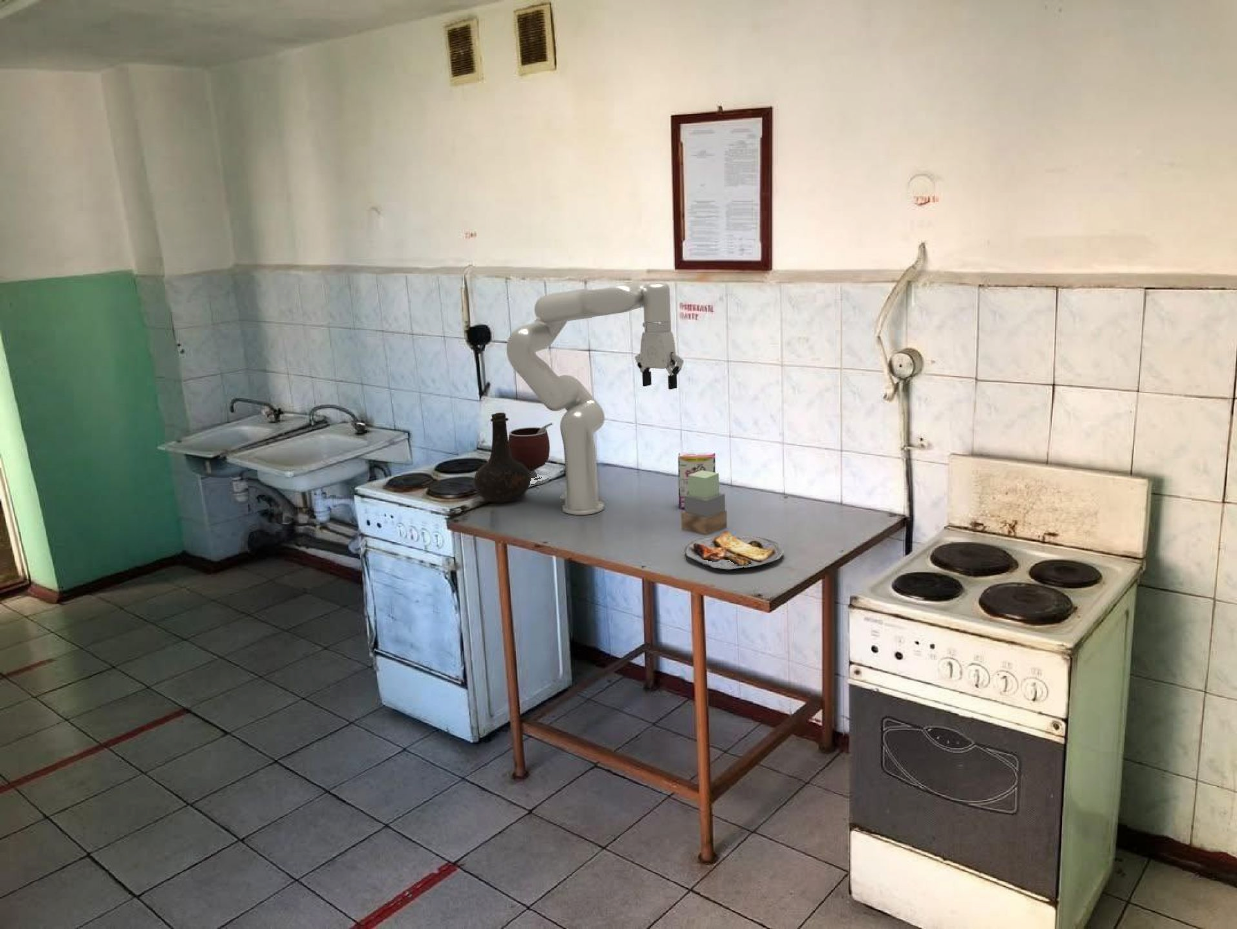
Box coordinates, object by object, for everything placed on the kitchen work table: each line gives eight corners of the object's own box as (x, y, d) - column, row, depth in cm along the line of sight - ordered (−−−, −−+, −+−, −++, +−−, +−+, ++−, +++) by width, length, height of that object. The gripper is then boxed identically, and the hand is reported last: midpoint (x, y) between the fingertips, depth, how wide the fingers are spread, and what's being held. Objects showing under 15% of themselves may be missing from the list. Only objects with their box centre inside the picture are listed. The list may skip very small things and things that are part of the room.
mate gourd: (506, 485, 335) (501, 427, 330) (517, 474, 349) (512, 418, 344) (551, 486, 333) (547, 427, 328) (560, 474, 346) (556, 418, 341)
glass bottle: (469, 507, 313) (462, 420, 306) (483, 491, 330) (476, 408, 323) (525, 507, 310) (519, 419, 303) (536, 491, 327) (531, 407, 320)
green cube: (688, 495, 280) (688, 474, 279) (702, 490, 284) (701, 470, 283) (705, 499, 276) (705, 478, 275) (719, 494, 280) (718, 473, 279)
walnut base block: (681, 529, 283) (681, 512, 282) (702, 521, 289) (702, 505, 288) (706, 535, 277) (705, 518, 276) (726, 527, 283) (726, 510, 282)
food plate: (667, 554, 263) (667, 541, 262) (734, 535, 276) (734, 523, 275) (731, 582, 243) (731, 569, 242) (800, 561, 256) (800, 548, 255)
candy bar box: (678, 509, 301) (677, 456, 297) (679, 504, 306) (677, 452, 302) (716, 508, 300) (715, 455, 296) (716, 503, 305) (715, 451, 300)
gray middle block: (684, 512, 282) (684, 495, 280) (703, 505, 287) (702, 489, 286) (706, 517, 276) (706, 500, 275) (725, 510, 282) (724, 493, 280)
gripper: (626, 327, 286) (628, 386, 290) (672, 330, 274) (674, 392, 278) (643, 324, 291) (645, 382, 295) (689, 327, 279) (691, 387, 284)
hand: (659, 387), depth 287 cm, fingers open, 9 cm apart
